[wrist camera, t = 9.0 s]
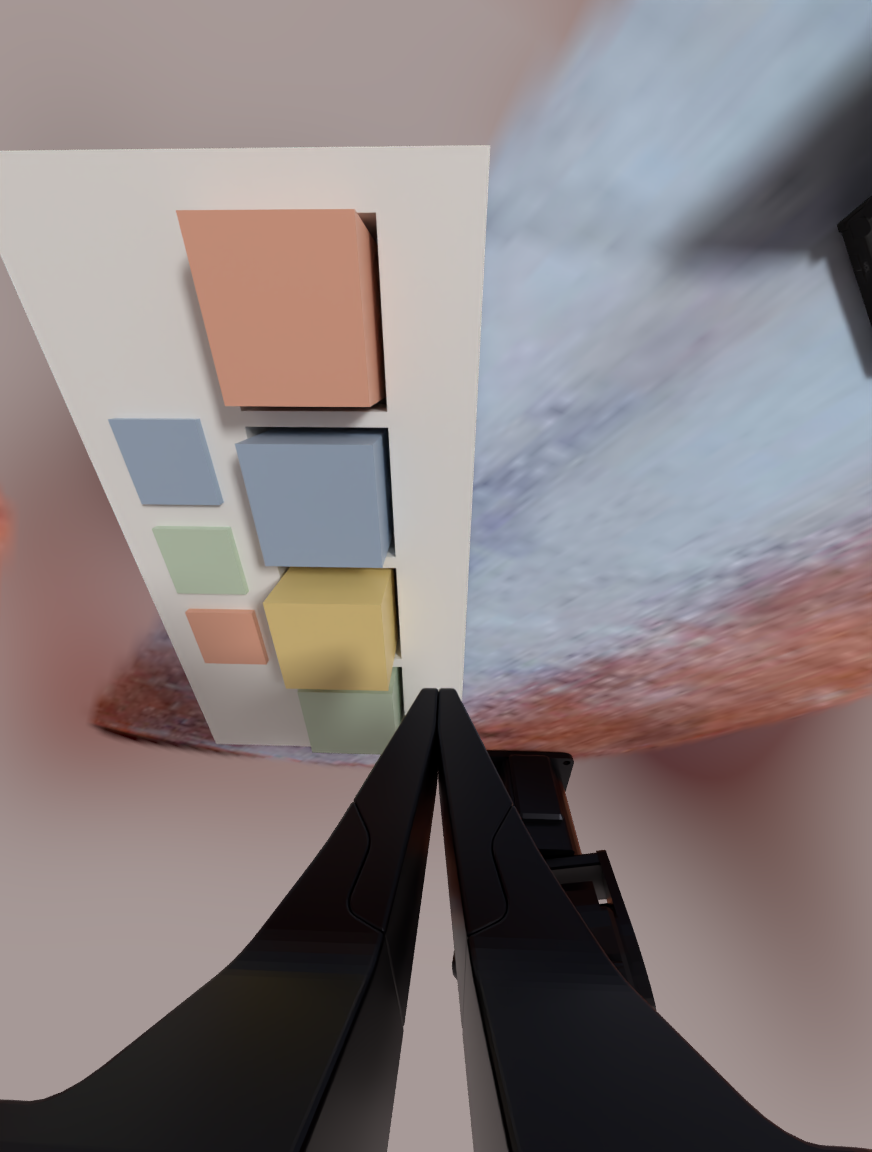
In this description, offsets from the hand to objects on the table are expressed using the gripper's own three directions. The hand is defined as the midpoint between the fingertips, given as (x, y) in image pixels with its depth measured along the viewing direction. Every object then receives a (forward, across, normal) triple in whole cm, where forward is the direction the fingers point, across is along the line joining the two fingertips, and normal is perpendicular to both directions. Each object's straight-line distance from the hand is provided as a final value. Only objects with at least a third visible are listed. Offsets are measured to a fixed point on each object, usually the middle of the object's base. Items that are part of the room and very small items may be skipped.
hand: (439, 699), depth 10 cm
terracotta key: (+9, +4, -9) cm, 13 cm away
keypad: (+10, +6, 0) cm, 12 cm away
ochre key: (+8, +4, +2) cm, 10 cm away
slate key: (+9, +4, -3) cm, 10 cm away
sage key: (+9, +5, +8) cm, 13 cm away
